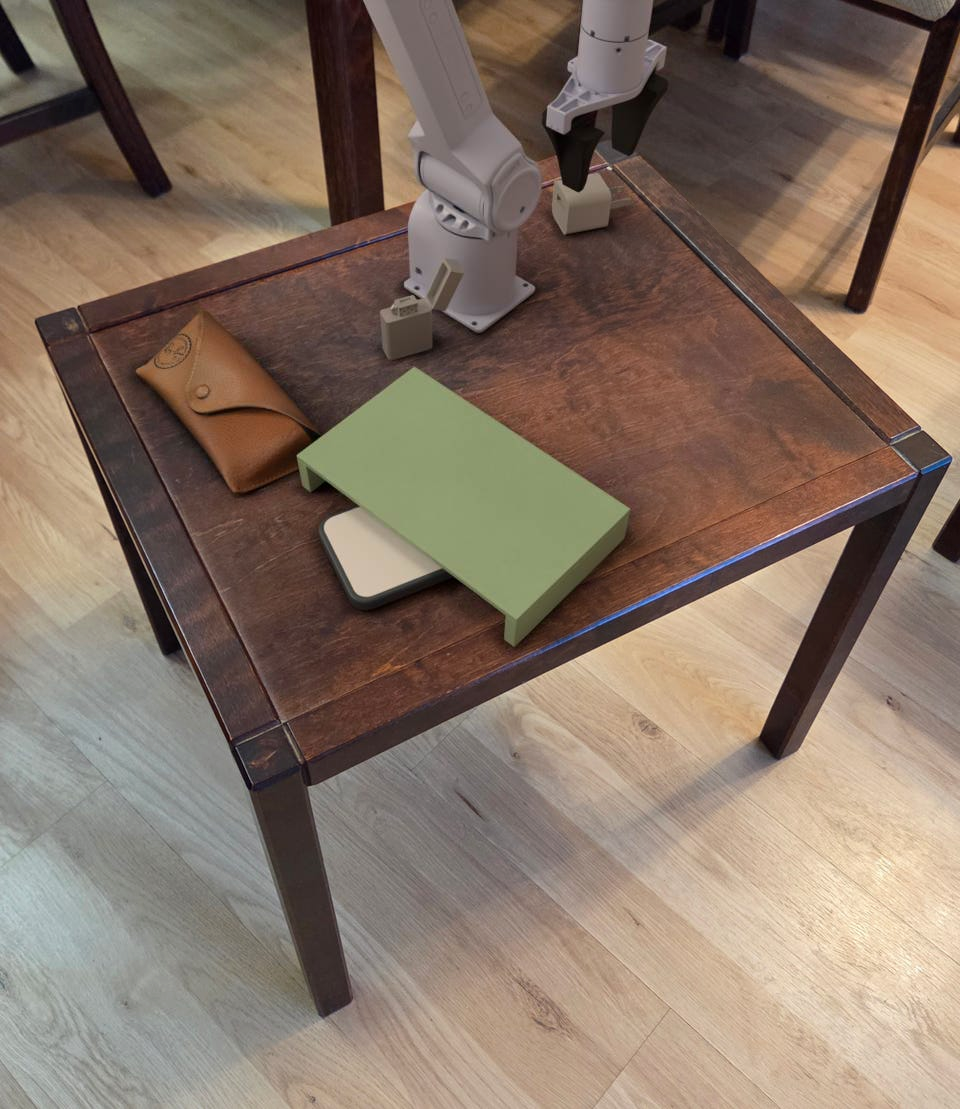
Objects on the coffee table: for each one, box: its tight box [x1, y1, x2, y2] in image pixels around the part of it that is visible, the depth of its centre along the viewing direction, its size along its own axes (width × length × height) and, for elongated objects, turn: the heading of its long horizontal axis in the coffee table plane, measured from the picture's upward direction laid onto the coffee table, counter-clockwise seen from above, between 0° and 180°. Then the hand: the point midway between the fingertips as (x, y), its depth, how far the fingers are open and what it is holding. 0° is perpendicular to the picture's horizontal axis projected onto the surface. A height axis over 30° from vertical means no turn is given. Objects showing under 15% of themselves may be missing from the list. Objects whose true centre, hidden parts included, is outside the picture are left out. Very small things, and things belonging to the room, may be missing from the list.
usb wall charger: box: [551, 172, 632, 235], centre depth 102 cm, size 4×7×4 cm, turn 108°
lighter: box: [379, 258, 464, 361], centre depth 89 cm, size 7×2×8 cm, turn 114°
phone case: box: [317, 504, 455, 611], centre depth 80 cm, size 9×2×16 cm
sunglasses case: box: [135, 308, 323, 494], centre depth 86 cm, size 18×7×7 cm
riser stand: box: [297, 366, 631, 648], centre depth 80 cm, size 22×13×4 cm, turn 48°
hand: (598, 168), depth 99 cm, fingers open, 7 cm apart
